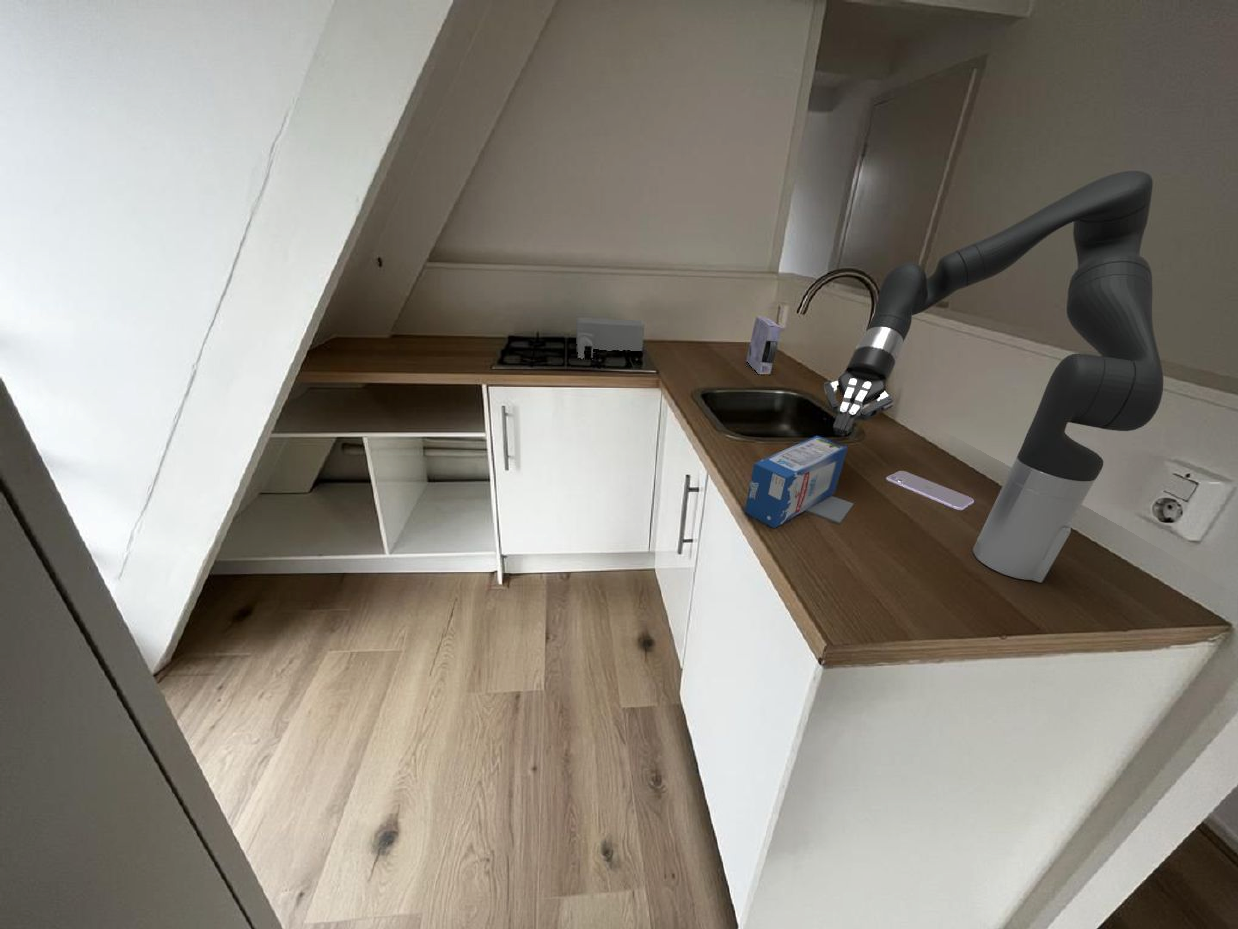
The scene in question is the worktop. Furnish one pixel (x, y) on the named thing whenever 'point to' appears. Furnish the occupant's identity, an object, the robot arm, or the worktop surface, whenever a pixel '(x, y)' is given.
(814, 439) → the milk carton
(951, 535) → the worktop surface
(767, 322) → the cake pan box
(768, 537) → the worktop surface
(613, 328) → the grey toy box truck
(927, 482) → the mobile phone
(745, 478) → the worktop surface
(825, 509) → the mat
